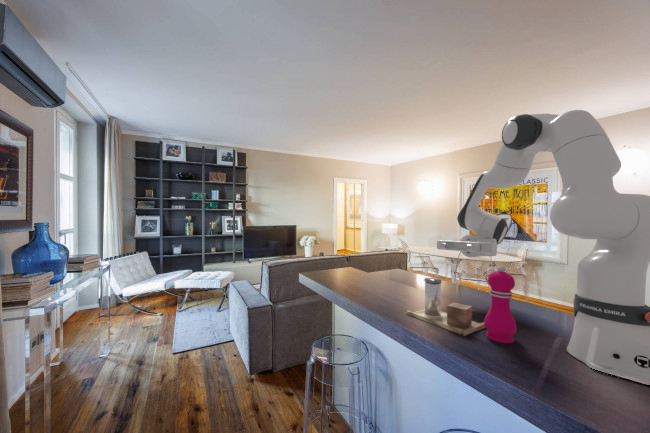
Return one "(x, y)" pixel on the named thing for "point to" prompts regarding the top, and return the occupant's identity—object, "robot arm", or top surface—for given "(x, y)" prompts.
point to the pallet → (445, 322)
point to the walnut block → (459, 315)
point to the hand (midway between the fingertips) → (455, 246)
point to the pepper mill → (500, 307)
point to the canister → (432, 296)
